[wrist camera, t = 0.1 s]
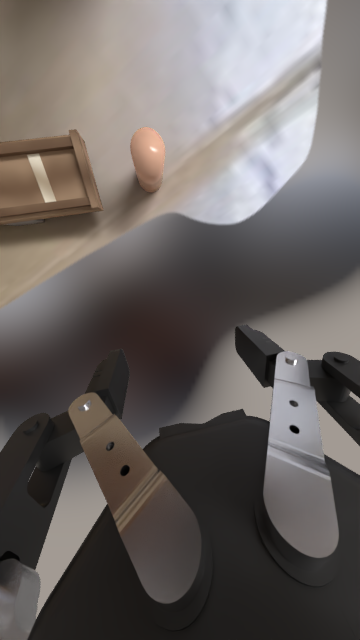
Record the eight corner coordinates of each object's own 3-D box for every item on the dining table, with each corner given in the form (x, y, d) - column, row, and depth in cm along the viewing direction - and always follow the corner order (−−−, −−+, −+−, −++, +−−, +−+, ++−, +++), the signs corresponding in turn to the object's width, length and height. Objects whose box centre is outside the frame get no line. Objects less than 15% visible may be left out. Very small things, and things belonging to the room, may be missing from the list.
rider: (134, 163, 30) (126, 129, 21) (159, 160, 31) (161, 125, 22) (140, 193, 32) (135, 174, 23) (164, 190, 32) (167, 169, 23)
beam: (-91, 172, 27) (-152, 154, 22) (90, 151, 29) (76, 129, 24) (-51, 235, 31) (-95, 233, 25) (107, 213, 33) (98, 207, 27)
